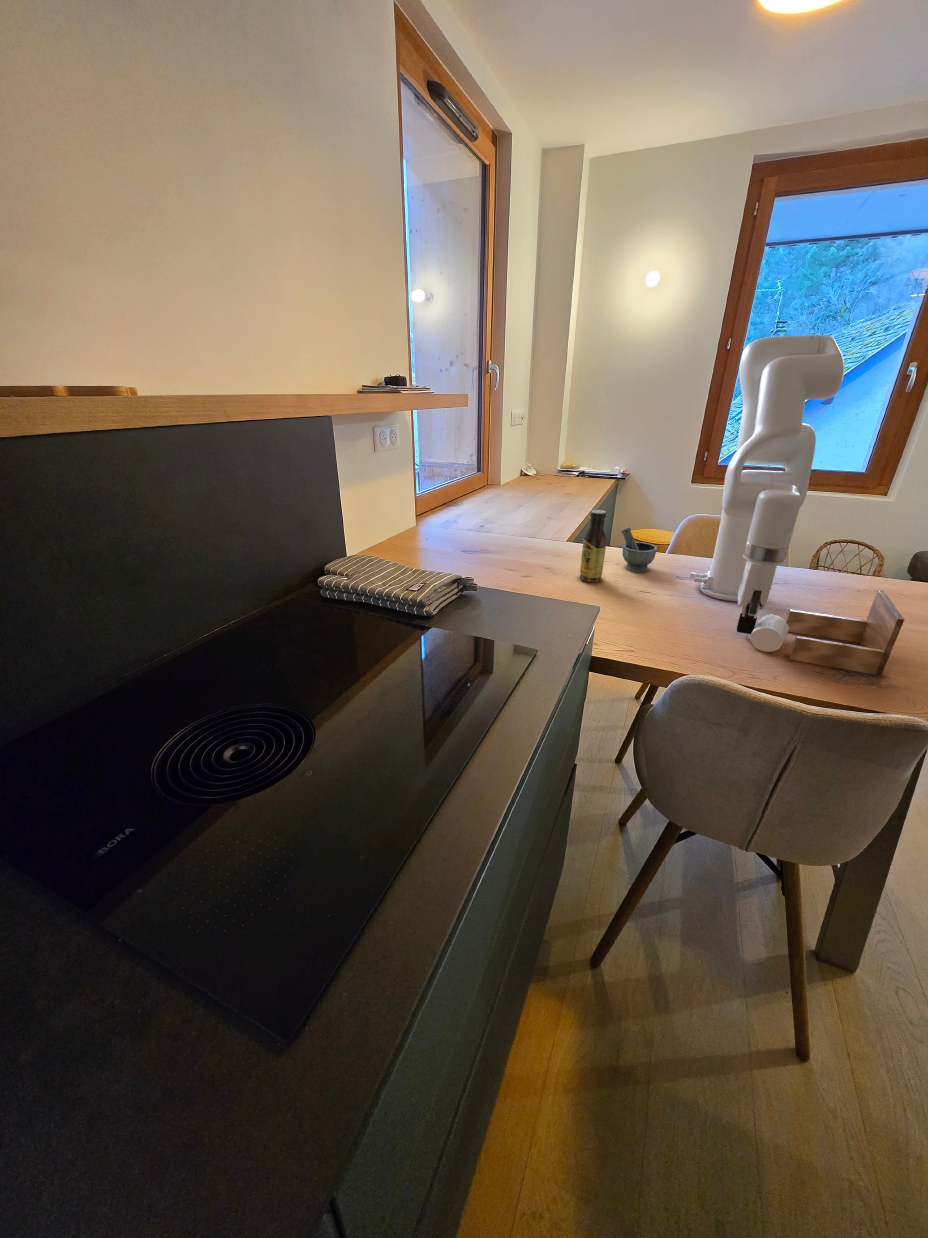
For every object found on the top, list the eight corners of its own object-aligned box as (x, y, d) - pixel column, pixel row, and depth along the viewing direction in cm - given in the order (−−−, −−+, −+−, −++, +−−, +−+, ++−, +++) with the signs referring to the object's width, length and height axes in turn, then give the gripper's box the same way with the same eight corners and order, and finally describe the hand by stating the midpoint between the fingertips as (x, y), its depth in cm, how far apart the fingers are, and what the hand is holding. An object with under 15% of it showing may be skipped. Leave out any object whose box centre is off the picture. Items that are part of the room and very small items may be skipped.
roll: (788, 634, 110) (795, 611, 107) (779, 655, 101) (786, 631, 99) (758, 626, 113) (764, 604, 111) (746, 647, 105) (753, 623, 102)
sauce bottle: (576, 575, 144) (582, 508, 136) (597, 575, 145) (604, 507, 136) (583, 584, 139) (590, 514, 130) (605, 583, 139) (613, 513, 130)
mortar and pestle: (658, 567, 150) (665, 529, 144) (646, 576, 143) (652, 536, 138) (624, 560, 156) (628, 523, 151) (610, 568, 150) (615, 529, 145)
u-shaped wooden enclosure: (789, 659, 100) (806, 605, 95) (783, 629, 112) (798, 579, 107) (881, 676, 94) (904, 619, 89) (863, 642, 106) (883, 590, 101)
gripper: (744, 540, 108) (726, 615, 116) (745, 560, 96) (724, 642, 104) (783, 544, 105) (762, 621, 113) (789, 565, 93) (765, 650, 101)
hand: (744, 631), depth 109 cm, fingers closed
